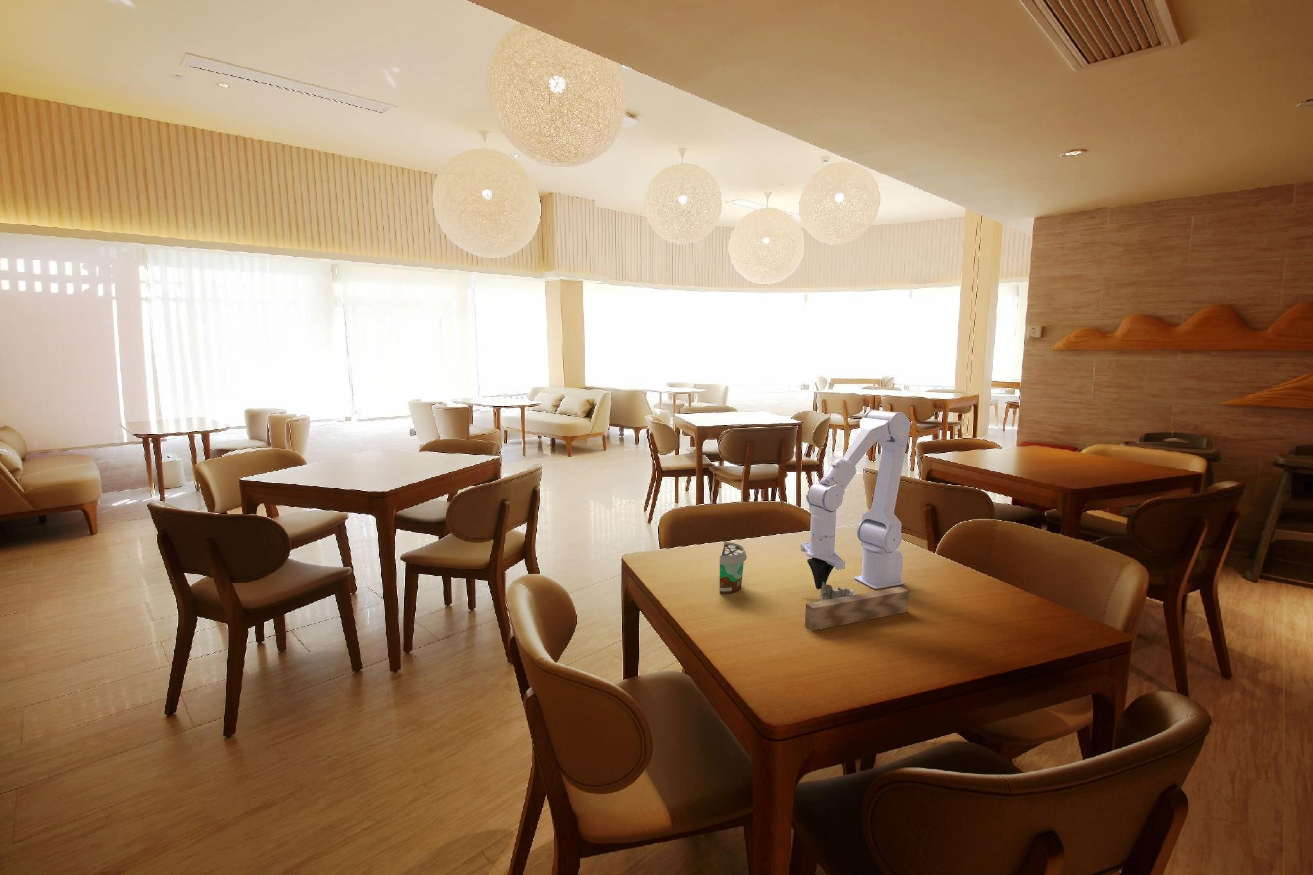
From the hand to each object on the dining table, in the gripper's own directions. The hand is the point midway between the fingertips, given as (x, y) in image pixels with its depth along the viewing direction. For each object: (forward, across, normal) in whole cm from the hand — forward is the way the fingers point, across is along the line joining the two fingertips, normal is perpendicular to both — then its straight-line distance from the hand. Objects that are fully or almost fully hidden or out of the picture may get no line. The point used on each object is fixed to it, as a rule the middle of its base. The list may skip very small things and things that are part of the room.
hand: (820, 588), depth 142 cm
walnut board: (+2, +13, 0) cm, 14 cm away
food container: (+2, -12, -17) cm, 21 cm away
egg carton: (+2, +7, 0) cm, 7 cm away
